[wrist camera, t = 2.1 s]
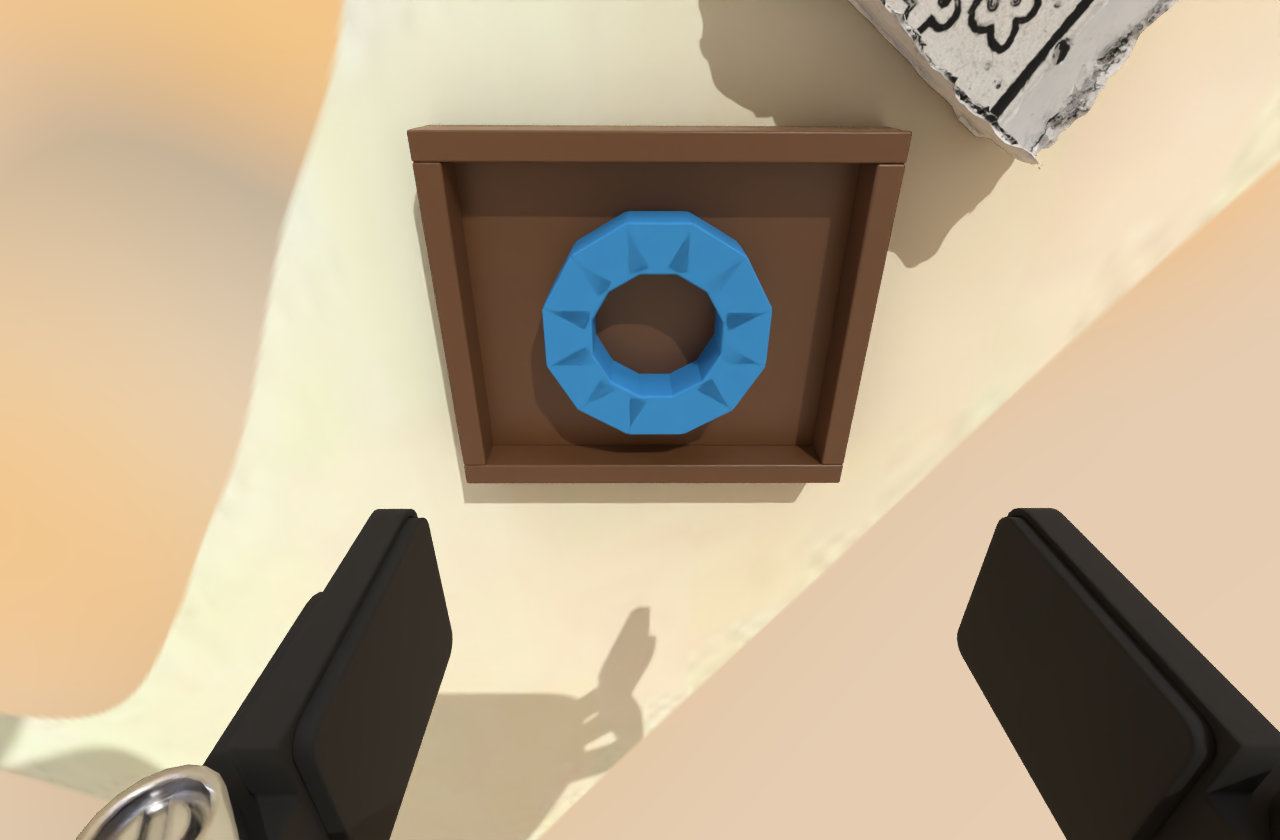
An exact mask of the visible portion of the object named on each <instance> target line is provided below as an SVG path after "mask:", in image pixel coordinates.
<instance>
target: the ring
mask: <svg viewBox="0 0 1280 840" xmlns="http://www.w3.org/2000/svg"><path fill="white" fill-rule="evenodd" d="M638 275H678V276H680V277H681V278H683V279H685V280H687V281H688V282H690V283H692V284H693V285H695V286H697V287H699V288H700V289H702V290H704V291H705V292H707V294H708V296H709V298H710V299H711V301H712V303H713V305H714V307H715V309H716V313H715V328H714V335H713V336H712V338H711V339H710V341H709V342H708V344H707V345H706V347H705V348H704V350H703V351H702V353H701V354H700V355H699V357H698V358H697V360H695V361H693V362H691V363H689V364H687V365H685V366H683V367H682V368H680V369H678V370H676V371H674V372H672V373H670V374H639V373H637V372H635V371H633V370H631V369H629V368H627V367H625V366H623V365H621V364H619V363H618V362H616V361H614V360H613V359H612V358H611V356H610V355H609V353H608V352H607V350H606V349H605V347H604V346H603V344H602V342H601V341H600V339H599V338H598V336H597V335H596V314H597V312H598V310H599V308H600V307H601V305H602V303H603V301H604V300H605V298H606V296H607V294H608V293H609V292H610V291H612V290H614V289H615V288H617V287H619V286H621V285H622V284H624V283H626V282H628V281H629V280H631V279H633V278H635V277H636V276H638ZM542 317H543V329H544V341H545V354H546V365H547V367H548V369H549V370H550V371H551V373H552V374H553V376H554V377H555V378H556V380H557V381H558V383H559V384H560V385H561V387H562V388H563V390H564V391H565V392H566V394H567V395H568V397H569V398H570V399H571V401H572V402H573V404H574V405H575V406H576V408H577V409H578V410H580V411H581V412H583V413H585V414H587V415H589V416H591V417H593V418H595V419H597V420H599V421H601V422H603V423H605V424H607V425H610V426H612V427H614V428H616V429H618V430H620V431H622V432H624V433H626V434H685V433H687V432H689V431H691V430H693V429H695V428H697V427H699V426H701V425H703V424H706V423H708V422H710V421H712V420H714V419H716V418H718V417H720V416H722V415H724V414H726V413H728V412H730V411H732V410H733V409H734V408H735V407H736V405H737V404H738V403H739V401H740V400H741V399H742V397H743V396H744V395H745V393H746V392H747V391H748V389H749V388H750V387H751V385H752V384H753V383H754V381H755V380H756V379H757V377H758V376H759V375H760V373H761V372H762V371H763V369H764V368H765V364H766V359H767V351H768V343H769V334H770V326H771V317H772V307H771V305H770V303H769V301H768V299H767V296H766V294H765V292H764V290H763V288H762V286H761V284H760V282H759V280H758V278H757V276H756V274H755V272H754V269H753V267H752V265H751V263H750V261H749V259H748V257H747V255H746V254H745V252H744V251H743V249H742V248H741V246H740V244H739V243H738V242H737V241H736V240H734V239H733V238H731V237H729V236H728V235H726V234H725V233H723V232H721V231H720V230H718V229H716V228H715V227H713V226H712V225H710V224H708V223H707V222H705V221H704V220H702V219H700V218H699V217H697V216H695V215H694V214H692V213H691V212H687V211H626V212H624V213H622V214H620V215H619V216H617V217H615V218H614V219H612V220H610V221H609V222H607V223H605V224H604V225H602V226H600V227H599V228H597V229H595V230H594V231H592V232H590V233H589V234H587V235H585V236H584V237H582V238H580V239H579V240H577V241H576V243H575V244H574V245H573V247H572V248H571V250H570V252H569V254H568V256H567V258H566V260H565V262H564V264H563V266H562V268H561V270H560V272H559V273H558V275H557V277H556V279H555V281H554V283H553V285H552V287H551V289H550V291H549V293H548V296H547V298H546V301H545V303H544V306H543V309H542Z"/></svg>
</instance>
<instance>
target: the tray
mask: <svg viewBox="0 0 1280 840" xmlns="http://www.w3.org/2000/svg"><path fill="white" fill-rule="evenodd" d="M407 136H408V141H409V147H410V153H411V159H412V161H413V162H414V163H413V170H414V176H415V181H416V187H417V193H418V199H419V205H420V211H421V217H422V222H423V228H424V234H425V240H426V246H427V252H428V257H429V263H430V269H431V275H432V281H433V287H434V292H435V298H436V304H437V310H438V316H439V322H440V328H441V333H442V339H443V345H444V351H445V357H446V363H447V368H448V374H449V380H450V386H451V392H452V398H453V403H454V409H455V415H456V421H457V427H458V433H459V439H460V444H461V450H462V456H463V462H464V465H465V466H464V468H465V473H466V479H467V483H838V482H840V477H841V472H842V467H843V465H842V464H843V462H844V457H845V452H846V448H847V443H848V438H849V433H850V428H851V423H852V419H853V414H854V409H855V404H856V399H857V395H858V390H859V385H860V380H861V375H862V371H863V366H864V361H865V356H866V351H867V346H868V342H869V337H870V332H871V327H872V322H873V318H874V313H875V308H876V303H877V298H878V293H879V289H880V284H881V279H882V274H883V269H884V265H885V260H886V255H887V250H888V245H889V241H890V236H891V231H892V226H893V221H894V216H895V212H896V207H897V202H898V197H899V192H900V188H901V183H902V178H903V173H904V168H905V165H904V163H906V160H907V155H908V150H909V146H910V141H911V136H912V132H910V131H905V130H900V129H894V128H889V127H792V126H535V125H427V126H423V127H418V128H414V129H409V130H407ZM626 211H687V212H691V213H692V214H694V215H695V216H697V217H699V218H700V219H702V220H704V221H705V222H707V223H708V224H710V225H712V226H713V227H715V228H716V229H718V230H720V231H721V232H723V233H725V234H726V235H728V236H729V237H731V238H733V239H734V240H736V241H737V242H738V243H739V244H740V246H741V248H742V249H743V251H744V252H745V254H746V255H747V257H748V259H749V261H750V263H751V265H752V267H753V269H754V272H755V274H756V276H757V278H758V280H759V282H760V284H761V286H762V288H763V290H764V292H765V294H766V296H767V299H768V301H769V303H770V305H771V307H772V317H771V326H770V334H769V343H768V351H767V359H766V364H765V368H764V369H763V371H762V372H761V373H760V375H759V376H758V377H757V379H756V380H755V381H754V383H753V384H752V385H751V387H750V388H749V389H748V391H747V392H746V393H745V395H744V396H743V397H742V399H741V400H740V401H739V403H738V404H737V405H736V407H735V408H734V409H733V410H732V411H730V412H728V413H726V414H724V415H722V416H720V417H718V418H716V419H714V420H712V421H710V422H708V423H706V424H703V425H701V426H699V427H697V428H695V429H693V430H691V431H689V432H687V433H685V434H626V433H624V432H622V431H620V430H618V429H616V428H614V427H612V426H610V425H607V424H605V423H603V422H601V421H599V420H597V419H595V418H593V417H591V416H589V415H587V414H585V413H583V412H581V411H580V410H578V409H577V408H576V406H575V405H574V404H573V402H572V401H571V399H570V398H569V397H568V395H567V394H566V392H565V391H564V390H563V388H562V387H561V385H560V384H559V383H558V381H557V380H556V378H555V377H554V376H553V374H552V373H551V371H550V370H549V369H548V367H547V365H546V354H545V341H544V329H543V317H542V309H543V306H544V303H545V301H546V298H547V296H548V293H549V291H550V289H551V287H552V285H553V283H554V281H555V279H556V277H557V275H558V273H559V272H560V270H561V268H562V266H563V264H564V262H565V260H566V258H567V256H568V254H569V252H570V250H571V248H572V247H573V245H574V244H575V243H576V241H577V240H579V239H580V238H582V237H584V236H585V235H587V234H589V233H590V232H592V231H594V230H595V229H597V228H599V227H600V226H602V225H604V224H605V223H607V222H609V221H610V220H612V219H614V218H615V217H617V216H619V215H620V214H622V213H624V212H626ZM715 313H716V309H715V307H714V305H713V303H712V301H711V299H710V298H709V296H708V294H707V292H705V291H704V290H702V289H700V288H699V287H697V286H695V285H693V284H692V283H690V282H688V281H687V280H685V279H683V278H681V277H680V276H678V275H638V276H636V277H635V278H633V279H631V280H629V281H628V282H626V283H624V284H622V285H621V286H619V287H617V288H615V289H614V290H612V291H610V292H609V293H608V294H607V296H606V298H605V300H604V301H603V303H602V305H601V307H600V308H599V310H598V312H597V314H596V335H597V336H598V338H599V339H600V341H601V342H602V344H603V346H604V347H605V349H606V350H607V352H608V353H609V355H610V356H611V358H612V359H613V360H614V361H616V362H618V363H619V364H621V365H623V366H625V367H627V368H629V369H631V370H633V371H635V372H637V373H639V374H670V373H672V372H674V371H676V370H678V369H680V368H682V367H683V366H685V365H687V364H689V363H691V362H693V361H695V360H697V358H698V357H699V355H700V354H701V353H702V351H703V350H704V348H705V347H706V345H707V344H708V342H709V341H710V339H711V338H712V336H713V335H714V328H715Z"/></svg>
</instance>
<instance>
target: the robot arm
mask: <svg viewBox="0 0 1280 840" xmlns="http://www.w3.org/2000/svg"><path fill="white" fill-rule="evenodd" d="M957 642H958V646H959V650H960V652H961V655H962V657H963V659H964V660H965V662H966V664H967V666H968V667H969V669H970V671H971V673H972V674H973V676H974V678H975V679H976V681H977V683H978V685H979V686H980V688H981V690H982V692H983V694H984V695H985V697H986V699H987V700H988V702H989V704H990V706H991V708H992V709H993V711H994V713H995V715H996V716H997V718H998V720H999V721H1000V723H1001V725H1002V727H1003V729H1004V730H1005V732H1006V734H1007V736H1008V737H1009V739H1010V741H1011V743H1012V745H1013V746H1014V748H1015V750H1016V752H1017V753H1018V755H1019V757H1020V759H1021V760H1022V762H1023V764H1024V766H1025V767H1026V769H1027V771H1028V773H1029V774H1030V776H1031V778H1032V779H1033V781H1034V783H1035V785H1036V786H1037V788H1038V790H1039V792H1040V794H1041V795H1042V797H1043V799H1044V801H1045V802H1046V804H1047V806H1048V808H1049V809H1050V811H1051V813H1052V815H1053V816H1054V818H1055V820H1056V821H1057V823H1058V825H1059V827H1060V829H1061V830H1062V832H1063V834H1064V835H1065V837H1066V839H1067V840H1280V732H1279V731H1278V730H1277V729H1276V728H1275V727H1274V726H1273V725H1272V724H1271V723H1270V722H1269V721H1268V720H1267V719H1266V718H1265V717H1264V716H1263V715H1262V714H1261V713H1260V712H1259V711H1258V710H1257V709H1256V708H1255V707H1254V706H1253V705H1252V704H1251V703H1250V702H1249V701H1248V700H1247V699H1246V698H1245V697H1244V696H1243V695H1242V694H1241V693H1240V692H1239V691H1238V690H1237V689H1236V688H1235V687H1234V686H1233V685H1232V684H1231V683H1230V682H1229V681H1228V680H1227V679H1226V678H1225V677H1224V676H1223V675H1222V674H1221V673H1220V672H1219V671H1218V670H1217V669H1216V668H1215V667H1214V666H1213V665H1212V664H1211V663H1210V662H1209V661H1208V660H1207V659H1206V658H1205V657H1204V656H1203V655H1202V654H1201V653H1200V652H1199V651H1198V650H1197V649H1196V648H1195V647H1194V646H1193V645H1192V644H1191V643H1190V642H1189V641H1188V640H1187V639H1186V638H1185V637H1184V636H1183V635H1182V634H1181V633H1180V632H1179V631H1178V630H1177V629H1176V628H1175V627H1174V626H1173V625H1172V624H1171V623H1170V622H1169V621H1168V620H1167V619H1166V618H1165V617H1164V616H1163V615H1162V614H1161V613H1160V612H1159V611H1158V610H1157V609H1156V608H1155V607H1154V606H1153V605H1152V604H1151V603H1150V602H1149V601H1148V600H1147V598H1145V597H1144V595H1143V594H1142V593H1140V591H1138V589H1137V588H1136V587H1135V586H1134V585H1133V584H1132V583H1130V581H1128V579H1126V577H1125V576H1124V575H1123V574H1122V573H1121V572H1120V571H1118V570H1117V568H1115V566H1114V565H1113V564H1112V563H1111V562H1110V561H1109V560H1107V558H1106V557H1105V556H1104V555H1103V554H1102V553H1100V551H1099V550H1098V549H1097V548H1096V547H1095V546H1094V545H1093V544H1092V543H1091V542H1090V541H1089V540H1088V539H1087V538H1086V537H1085V536H1084V535H1083V534H1082V533H1081V532H1080V531H1079V530H1078V529H1077V528H1076V527H1075V526H1074V525H1073V524H1072V523H1071V522H1070V521H1069V520H1068V519H1067V518H1066V517H1065V516H1064V515H1063V514H1062V513H1060V512H1059V511H1057V510H1056V509H1052V508H1017V509H1013V510H1012V511H1011V512H1009V514H1008V516H1007V517H1004V518H1002V519H1001V520H999V522H998V524H997V527H996V529H995V532H994V535H993V538H992V540H991V543H990V545H989V548H988V551H987V554H986V557H985V559H984V562H983V565H982V567H981V570H980V573H979V575H978V578H977V581H976V584H975V586H974V589H973V592H972V594H971V597H970V600H969V603H968V605H967V608H966V611H965V613H964V616H963V619H962V622H961V624H960V627H959V630H958V634H957ZM451 649H452V630H451V625H450V621H449V616H448V611H447V607H446V602H445V598H444V593H443V588H442V584H441V579H440V574H439V570H438V565H437V561H436V556H435V551H434V547H433V542H432V537H431V533H430V528H429V524H428V521H427V520H426V519H425V518H418V517H417V514H416V512H415V511H414V510H412V509H377V510H375V511H374V512H373V513H372V514H371V516H370V517H369V519H368V521H367V522H366V524H365V525H364V527H363V529H362V530H361V532H360V533H359V535H358V537H357V538H356V540H355V541H354V543H353V545H352V546H351V548H350V549H349V551H348V553H347V554H346V556H345V557H344V559H343V561H342V562H341V564H340V565H339V567H338V569H337V570H336V572H335V573H334V575H333V577H332V578H331V580H330V581H329V583H328V585H327V586H326V588H325V589H324V591H323V592H319V593H317V594H316V595H314V596H313V597H312V598H311V599H310V600H309V601H308V603H307V604H306V605H305V607H304V608H303V610H302V611H301V613H300V615H299V616H298V618H297V619H296V621H295V622H294V624H293V625H292V627H291V629H290V630H289V632H288V633H287V635H286V636H285V638H284V639H283V641H282V643H281V644H280V646H279V647H278V649H277V650H276V652H275V654H274V655H273V657H272V658H271V660H270V661H269V663H268V664H267V666H266V668H265V669H264V671H263V672H262V674H261V675H260V677H259V678H258V680H257V682H256V683H255V685H254V686H253V688H252V689H251V691H250V692H249V694H248V696H247V697H246V699H245V700H244V702H243V703H242V705H241V706H240V708H239V710H238V711H237V713H236V714H235V716H234V717H233V719H232V721H231V722H230V724H229V725H228V727H227V728H226V730H225V731H224V733H223V735H222V736H221V738H220V739H219V741H218V742H217V744H216V745H215V747H214V749H213V750H212V752H211V753H210V755H209V756H208V758H207V759H206V761H205V763H204V764H203V766H198V765H184V766H179V767H174V768H169V769H165V770H163V771H161V772H158V773H156V774H154V775H151V776H149V777H146V778H144V779H142V780H140V781H139V782H137V783H136V784H134V785H133V786H131V787H130V788H128V789H126V790H125V791H123V792H122V793H120V794H119V795H117V796H116V797H115V798H114V799H113V800H112V801H111V802H109V803H108V804H107V805H106V806H105V807H104V808H103V809H101V810H100V811H99V812H98V813H97V814H96V815H95V816H94V817H93V818H92V820H91V821H90V822H89V823H88V825H87V826H86V827H85V828H84V830H83V831H82V832H81V833H80V834H79V835H78V837H77V839H76V840H389V839H390V836H391V833H392V830H393V827H394V824H395V821H396V818H397V815H398V812H399V809H400V806H401V803H402V800H403V797H404V794H405V791H406V788H407V785H408V782H409V779H410V776H411V773H412V770H413V767H414V763H415V760H416V757H417V754H418V751H419V748H420V745H421V742H422V739H423V736H424V733H425V730H426V727H427V724H428V721H429V718H430V715H431V712H432V709H433V706H434V703H435V700H436V697H437V694H438V691H439V688H440V685H441V682H442V679H443V676H444V673H445V670H446V667H447V664H448V661H449V658H450V654H451Z"/></svg>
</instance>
